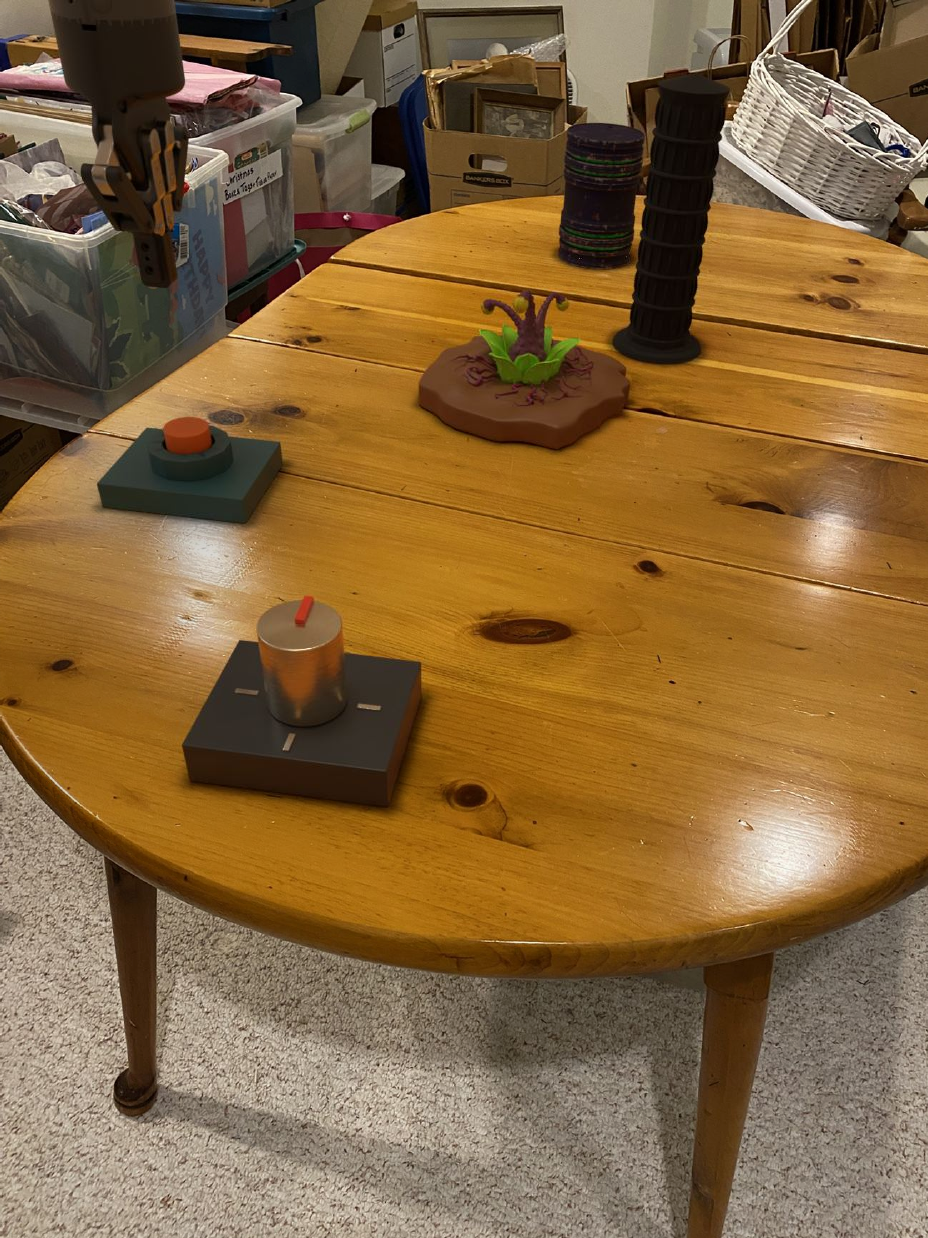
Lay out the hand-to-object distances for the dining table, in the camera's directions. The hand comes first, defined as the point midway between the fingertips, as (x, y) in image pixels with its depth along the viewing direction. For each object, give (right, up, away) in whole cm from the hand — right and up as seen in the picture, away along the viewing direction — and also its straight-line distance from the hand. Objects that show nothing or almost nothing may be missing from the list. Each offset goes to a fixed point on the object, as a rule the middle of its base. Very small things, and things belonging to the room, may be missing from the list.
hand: (160, 283), depth 75 cm
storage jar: (+37, +27, +61) cm, 76 cm away
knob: (+14, -31, -13) cm, 36 cm away
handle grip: (+42, +8, +39) cm, 58 cm away
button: (-1, -10, +9) cm, 13 cm away
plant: (+27, -1, +27) cm, 38 cm away
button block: (-1, -13, +11) cm, 17 cm away
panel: (+13, -33, -11) cm, 37 cm away
